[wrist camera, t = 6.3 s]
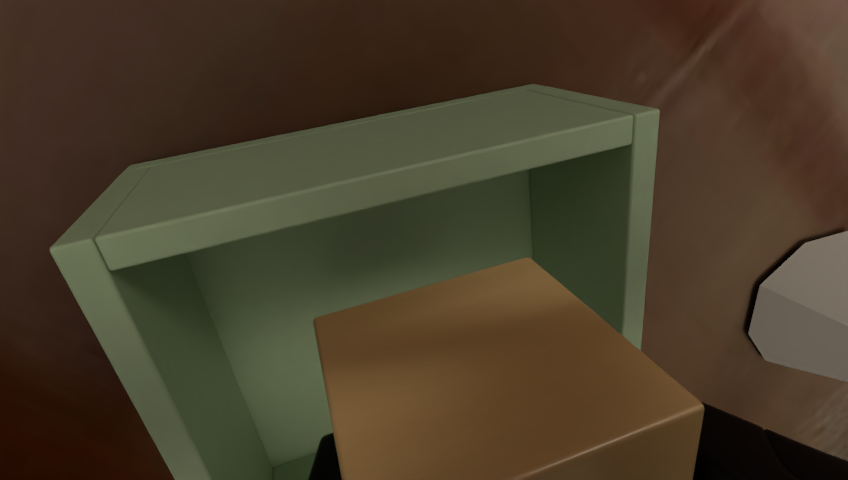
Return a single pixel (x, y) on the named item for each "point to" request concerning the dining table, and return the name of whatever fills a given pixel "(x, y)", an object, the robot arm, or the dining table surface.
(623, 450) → the block
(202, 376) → the file box
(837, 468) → the robot arm
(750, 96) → the dining table surface
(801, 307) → the flask
